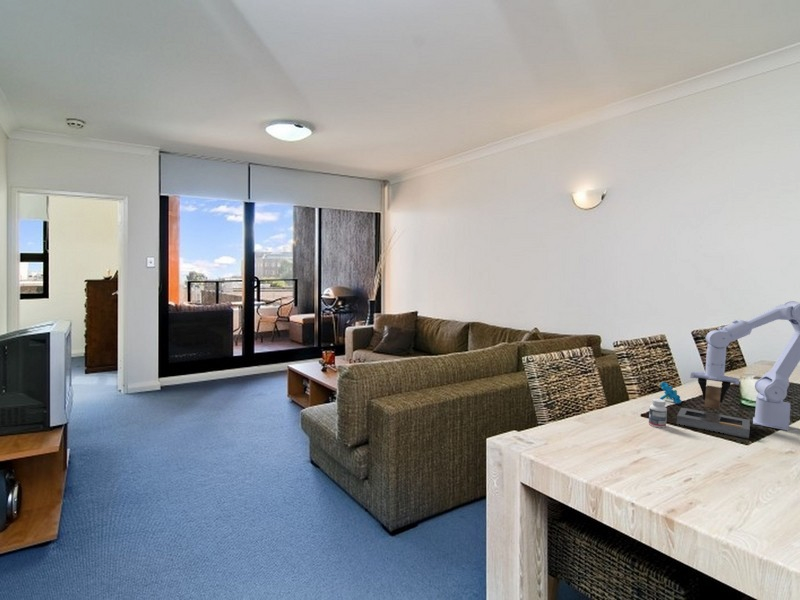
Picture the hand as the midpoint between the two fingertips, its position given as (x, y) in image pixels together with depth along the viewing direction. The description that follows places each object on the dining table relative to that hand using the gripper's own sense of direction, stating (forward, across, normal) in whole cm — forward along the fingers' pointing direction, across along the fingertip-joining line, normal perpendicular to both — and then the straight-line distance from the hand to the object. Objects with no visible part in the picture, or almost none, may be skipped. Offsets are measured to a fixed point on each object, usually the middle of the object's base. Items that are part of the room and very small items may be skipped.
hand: (712, 400), depth 163 cm
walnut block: (+2, 0, 0) cm, 2 cm away
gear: (+7, -15, +13) cm, 21 cm away
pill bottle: (+7, -14, -23) cm, 28 cm away
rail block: (+6, +1, -11) cm, 13 cm away
